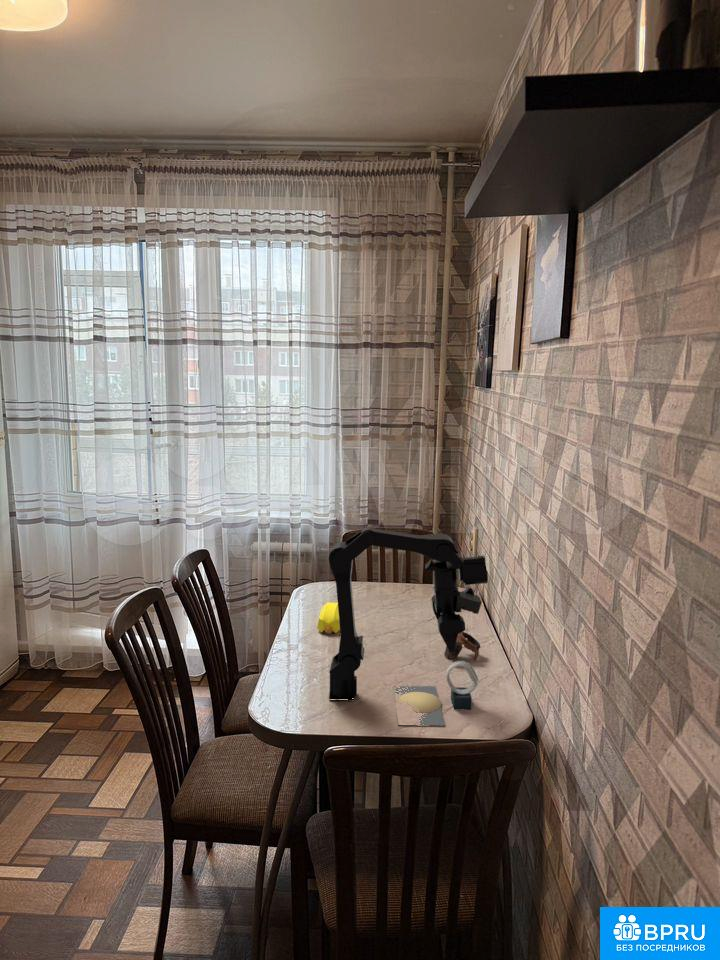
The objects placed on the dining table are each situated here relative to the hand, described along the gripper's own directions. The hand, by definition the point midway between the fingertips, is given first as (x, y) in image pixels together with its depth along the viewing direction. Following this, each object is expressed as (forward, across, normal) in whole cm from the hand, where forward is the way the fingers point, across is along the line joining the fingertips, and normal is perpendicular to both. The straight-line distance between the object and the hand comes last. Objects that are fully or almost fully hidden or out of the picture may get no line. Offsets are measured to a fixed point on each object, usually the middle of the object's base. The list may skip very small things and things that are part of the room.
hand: (449, 644), depth 165 cm
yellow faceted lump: (+14, +49, +34) cm, 61 cm away
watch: (+15, -4, -2) cm, 15 cm away
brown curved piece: (+16, +24, -5) cm, 30 cm away
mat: (+13, -5, +9) cm, 17 cm away
